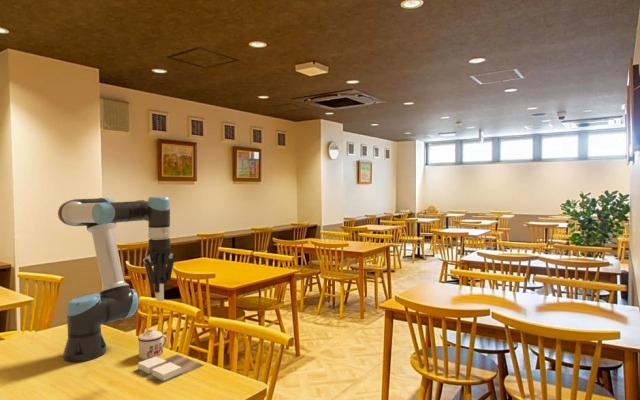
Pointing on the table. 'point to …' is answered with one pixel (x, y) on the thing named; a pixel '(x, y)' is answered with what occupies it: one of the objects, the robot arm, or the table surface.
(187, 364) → the walnut board
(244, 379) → the table surface
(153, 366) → the tile
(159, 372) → the tile
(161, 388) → the table surface
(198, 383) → the table surface
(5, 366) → the table surface
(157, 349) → the teacup with lid
